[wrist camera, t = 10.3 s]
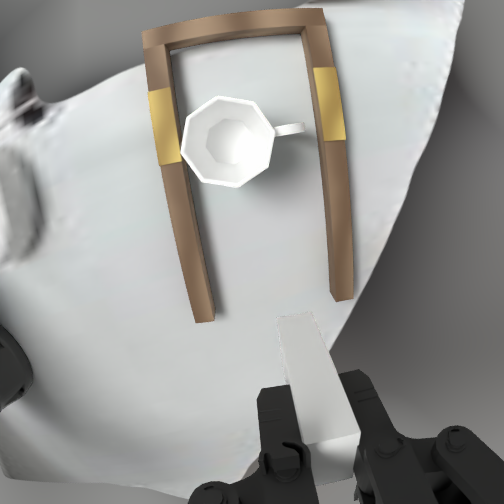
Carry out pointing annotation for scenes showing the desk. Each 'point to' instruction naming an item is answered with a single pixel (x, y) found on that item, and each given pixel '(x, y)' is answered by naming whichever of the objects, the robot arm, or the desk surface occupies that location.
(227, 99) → the cup
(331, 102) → the channel
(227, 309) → the desk surface
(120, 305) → the desk surface
